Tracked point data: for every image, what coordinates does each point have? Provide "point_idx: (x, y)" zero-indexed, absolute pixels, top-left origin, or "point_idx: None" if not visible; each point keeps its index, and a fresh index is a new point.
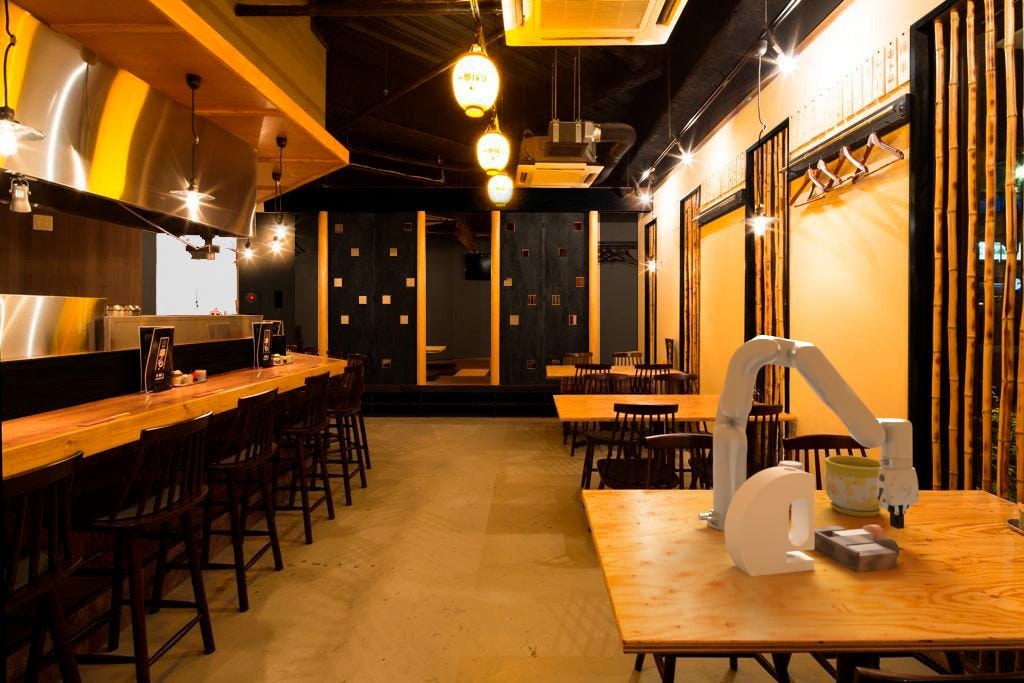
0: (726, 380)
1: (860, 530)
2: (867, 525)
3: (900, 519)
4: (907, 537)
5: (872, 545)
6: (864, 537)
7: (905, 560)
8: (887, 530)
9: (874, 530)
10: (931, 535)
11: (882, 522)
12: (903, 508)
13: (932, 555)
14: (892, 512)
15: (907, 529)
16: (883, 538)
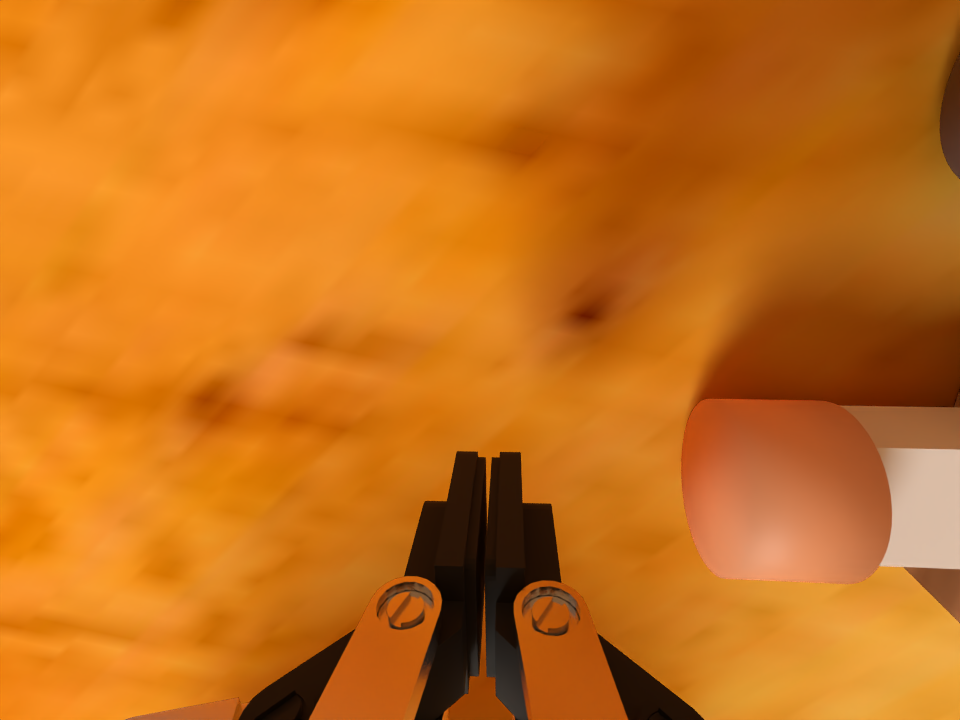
0: None
1: (911, 537)
2: (878, 561)
3: (505, 519)
4: (336, 478)
5: None
6: (954, 431)
7: (822, 34)
8: None
9: (867, 465)
10: (133, 468)
11: None
12: (409, 671)
13: (444, 101)
14: (604, 645)
15: (226, 584)
16: (723, 401)
